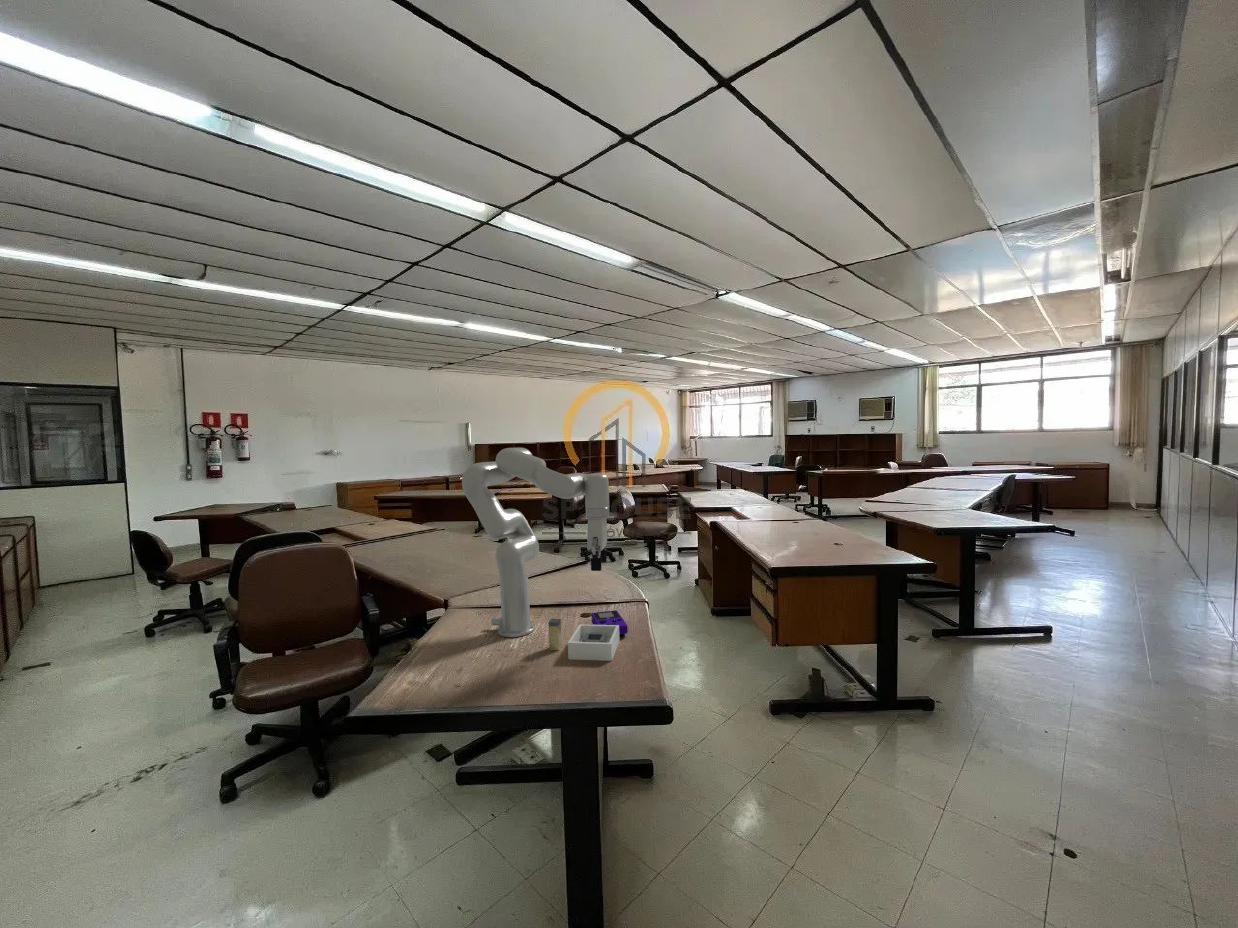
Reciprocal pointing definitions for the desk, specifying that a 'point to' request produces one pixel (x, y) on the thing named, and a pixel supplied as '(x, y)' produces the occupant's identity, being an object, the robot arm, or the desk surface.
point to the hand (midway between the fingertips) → (599, 566)
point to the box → (594, 642)
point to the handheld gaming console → (610, 620)
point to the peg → (555, 634)
